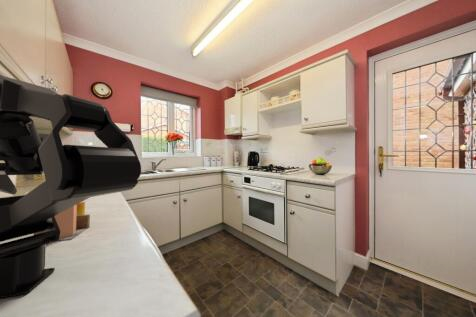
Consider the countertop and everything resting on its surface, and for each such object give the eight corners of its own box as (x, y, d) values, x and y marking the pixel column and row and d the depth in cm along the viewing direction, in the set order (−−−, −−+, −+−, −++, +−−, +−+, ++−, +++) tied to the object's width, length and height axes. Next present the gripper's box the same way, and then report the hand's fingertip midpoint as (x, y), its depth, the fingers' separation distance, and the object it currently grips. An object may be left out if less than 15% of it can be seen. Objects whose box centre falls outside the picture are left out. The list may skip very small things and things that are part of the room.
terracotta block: (73, 235, 49) (74, 188, 49) (50, 239, 47) (51, 190, 47) (76, 230, 53) (77, 186, 53) (55, 233, 50) (56, 187, 50)
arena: (71, 239, 47) (71, 224, 47) (26, 243, 45) (27, 227, 45) (89, 227, 56) (89, 214, 56) (53, 229, 53) (53, 216, 53)
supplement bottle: (88, 218, 64) (89, 191, 64) (73, 223, 59) (74, 194, 59) (75, 217, 65) (76, 191, 65) (59, 223, 59) (59, 194, 59)
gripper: (89, 123, 44) (96, 166, 53) (-36, 112, 34) (0, 167, 43) (80, 155, 37) (90, 198, 46) (-80, 151, 27) (-26, 206, 37)
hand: (43, 191), depth 43 cm, fingers open, 9 cm apart
